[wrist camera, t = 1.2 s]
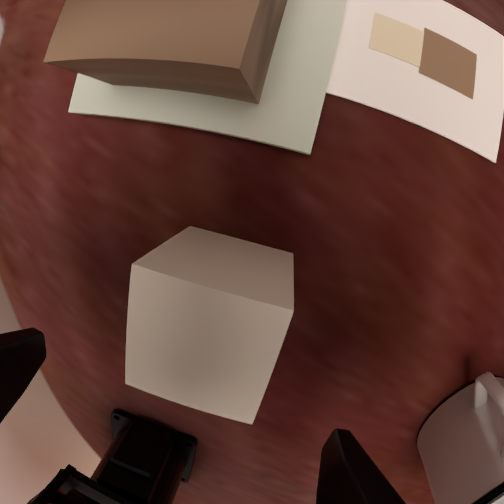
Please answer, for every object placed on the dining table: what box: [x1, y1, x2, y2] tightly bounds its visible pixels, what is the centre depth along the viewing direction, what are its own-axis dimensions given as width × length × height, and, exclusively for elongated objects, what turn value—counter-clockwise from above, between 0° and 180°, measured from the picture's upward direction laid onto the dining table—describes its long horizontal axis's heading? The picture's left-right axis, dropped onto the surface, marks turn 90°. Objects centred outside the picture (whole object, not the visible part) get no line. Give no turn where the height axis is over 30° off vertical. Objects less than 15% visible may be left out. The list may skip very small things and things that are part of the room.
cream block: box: [125, 226, 294, 424], centre depth 13 cm, size 5×5×6 cm
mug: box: [417, 372, 504, 504], centre depth 12 cm, size 12×10×9 cm
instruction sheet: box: [326, 0, 504, 163], centre depth 11 cm, size 8×11×1 cm
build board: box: [68, 0, 347, 155], centre depth 11 cm, size 10×12×1 cm
